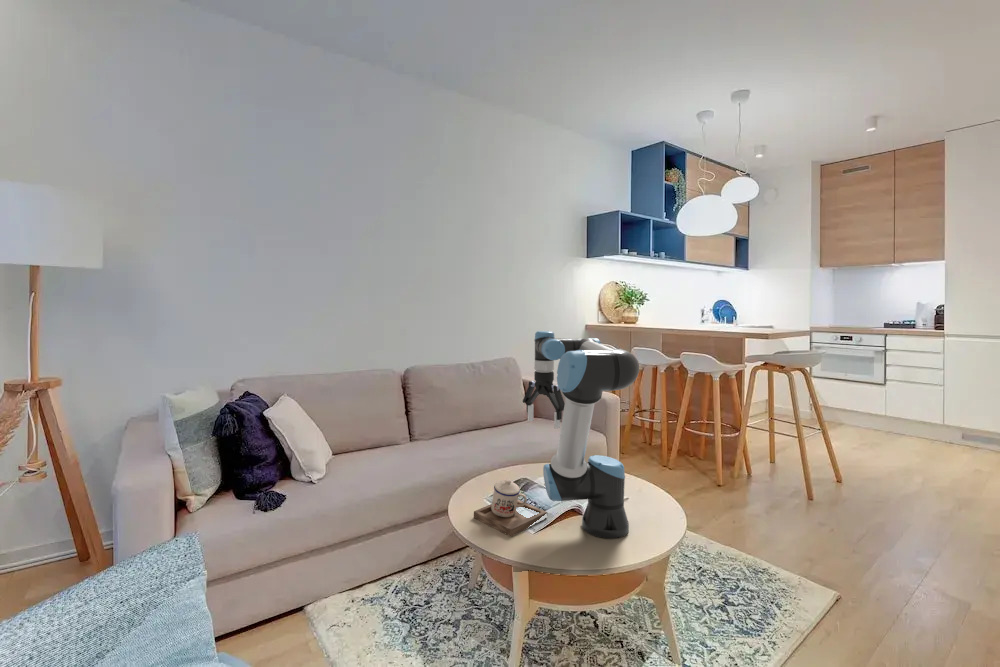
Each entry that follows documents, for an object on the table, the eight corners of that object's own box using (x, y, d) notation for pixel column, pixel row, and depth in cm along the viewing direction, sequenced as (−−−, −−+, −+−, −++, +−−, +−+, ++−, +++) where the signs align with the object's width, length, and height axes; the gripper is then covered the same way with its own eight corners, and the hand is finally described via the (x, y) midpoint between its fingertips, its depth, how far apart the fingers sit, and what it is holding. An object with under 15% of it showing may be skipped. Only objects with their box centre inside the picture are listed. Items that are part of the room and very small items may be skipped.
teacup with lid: (489, 516, 160) (495, 484, 158) (490, 502, 169) (495, 472, 167) (524, 521, 160) (530, 490, 158) (523, 506, 169) (528, 477, 167)
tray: (547, 518, 162) (547, 512, 162) (510, 536, 149) (511, 529, 149) (510, 502, 175) (510, 496, 175) (473, 517, 162) (473, 511, 162)
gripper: (576, 373, 176) (575, 428, 177) (526, 366, 194) (526, 417, 195) (563, 375, 171) (562, 432, 172) (514, 368, 188) (513, 420, 190)
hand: (543, 424), depth 184 cm, fingers open, 13 cm apart
